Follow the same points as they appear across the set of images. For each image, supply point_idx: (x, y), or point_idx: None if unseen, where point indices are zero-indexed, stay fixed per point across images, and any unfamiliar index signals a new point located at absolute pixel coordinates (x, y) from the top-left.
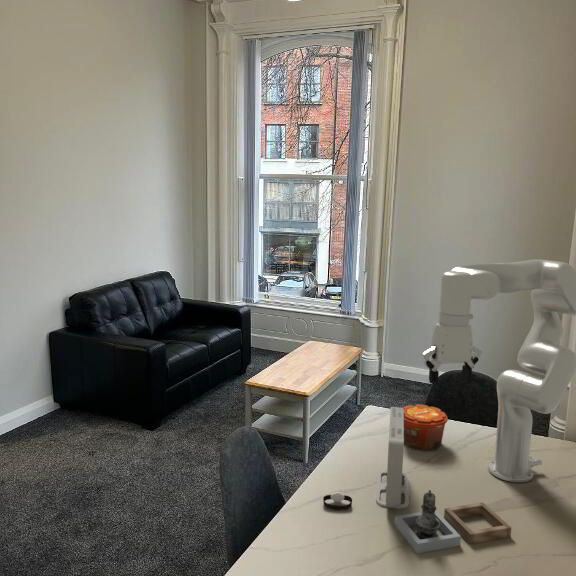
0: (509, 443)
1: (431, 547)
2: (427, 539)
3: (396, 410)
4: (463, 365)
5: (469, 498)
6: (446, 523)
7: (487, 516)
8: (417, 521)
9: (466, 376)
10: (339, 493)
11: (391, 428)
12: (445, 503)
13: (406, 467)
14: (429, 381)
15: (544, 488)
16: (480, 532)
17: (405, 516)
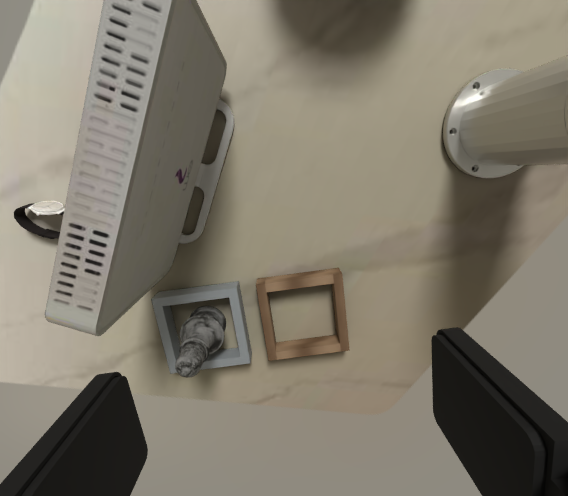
0: (530, 150)
1: None
2: None
3: (130, 24)
4: (556, 450)
5: (336, 222)
6: (240, 328)
7: (333, 296)
8: (181, 334)
9: (460, 435)
10: (43, 214)
11: (69, 224)
12: (279, 234)
13: (249, 66)
14: (96, 376)
15: (516, 203)
16: (288, 357)
17: (171, 301)
